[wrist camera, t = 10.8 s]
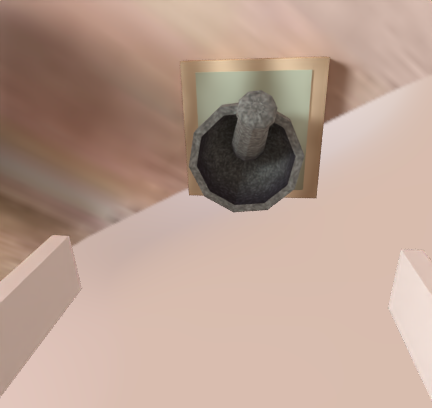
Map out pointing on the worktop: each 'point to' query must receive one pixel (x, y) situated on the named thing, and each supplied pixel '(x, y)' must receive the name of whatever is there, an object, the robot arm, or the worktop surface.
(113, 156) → the worktop surface
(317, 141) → the beige flat pad
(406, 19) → the worktop surface
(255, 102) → the mortar and pestle
